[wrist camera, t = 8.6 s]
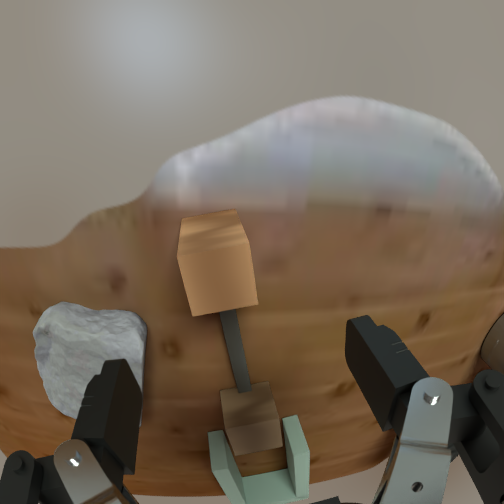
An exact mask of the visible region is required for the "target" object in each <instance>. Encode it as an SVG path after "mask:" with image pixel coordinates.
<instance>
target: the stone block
mask: <svg viewBox="0 0 504 504" xmlns="http://www.w3.org/2000/svg"><path fill="white" fill-rule="evenodd" d="M33 336H34V339H35V341H36V347H35V358H36V360H37V366H38V370H39V373H40V376H41V378H42V379H43V382H44V384H43V385H44V388H45V390H46V393H47V395H48V397H49V400H50V401H51V403H52V404H53V406H54V407H56V408H57V409H58V410H59V411H61V412H62V413H63V414H65V415H68V416H71V417H73V418H75V419H77V416H78V412H79V409H80V407H81V402H82V399H83V398H84V393H85V390H86V387H87V384H88V383H89V382H90V380H91V379H92V378H93V377H94V375H98V374H100V373H101V370H102V366H103V363H104V361H105V360H113V359H123V358H124V359H126V360H127V362H128V364H129V366H130V368H131V370H132V372H133V374H134V376H135V378H136V380H137V382H138V384H139V386H140V388H141V392H142V398H143V384H144V364H145V348H146V337H147V326H146V323H145V322H144V321H143V320H142V319H141V318H140V316H138V315H137V314H136V313H133V312H130V311H124V310H100V311H97V310H91V309H88V308H85V307H83V306H81V305H78V304H73V303H68V302H60V303H58V304H56V305H54V306H51V307H49V308H48V309H47V310H46V311H45V312H43V314H42V316H41V317H40V319H39V320H38V322H37V324H36V327H35V328H34V331H33ZM142 409H143V403H142ZM141 421H142V410H141V418H140V426H141ZM140 426H139V427H140Z"/></svg>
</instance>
